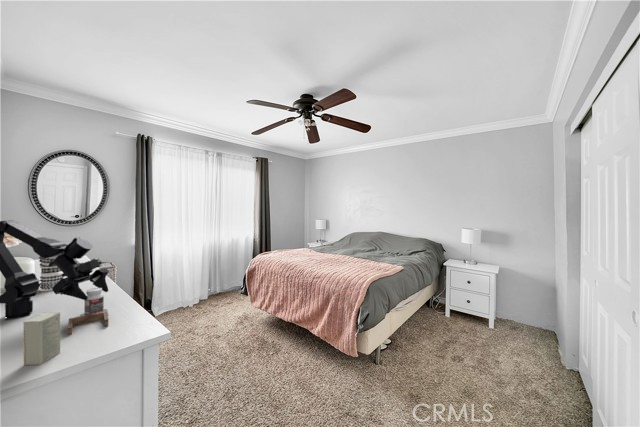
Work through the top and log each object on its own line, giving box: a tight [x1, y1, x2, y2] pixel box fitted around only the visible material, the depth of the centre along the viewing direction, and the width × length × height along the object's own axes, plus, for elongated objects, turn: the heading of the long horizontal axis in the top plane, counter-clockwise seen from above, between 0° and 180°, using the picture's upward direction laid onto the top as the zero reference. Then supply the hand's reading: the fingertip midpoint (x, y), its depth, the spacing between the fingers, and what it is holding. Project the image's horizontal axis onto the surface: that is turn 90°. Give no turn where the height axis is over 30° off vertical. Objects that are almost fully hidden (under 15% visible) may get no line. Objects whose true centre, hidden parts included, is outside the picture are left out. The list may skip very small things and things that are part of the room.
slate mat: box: [80, 308, 109, 317], centre depth 102 cm, size 8×8×1 cm
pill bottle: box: [83, 287, 105, 315], centre depth 102 cm, size 6×6×10 cm
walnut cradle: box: [67, 310, 109, 336], centre depth 93 cm, size 10×10×2 cm
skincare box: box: [23, 311, 61, 366], centre depth 73 cm, size 6×4×12 cm
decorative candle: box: [38, 239, 64, 292], centre depth 133 cm, size 9×9×25 cm
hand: (97, 295), depth 102 cm, fingers open, 9 cm apart
